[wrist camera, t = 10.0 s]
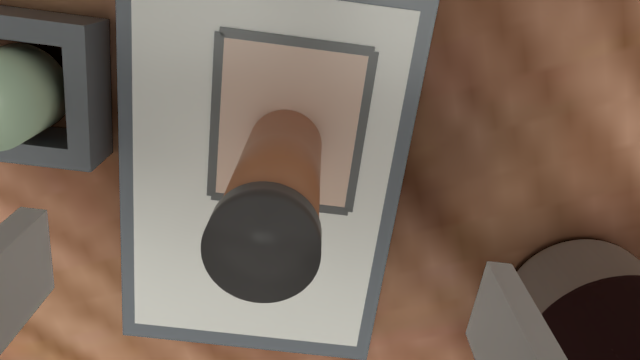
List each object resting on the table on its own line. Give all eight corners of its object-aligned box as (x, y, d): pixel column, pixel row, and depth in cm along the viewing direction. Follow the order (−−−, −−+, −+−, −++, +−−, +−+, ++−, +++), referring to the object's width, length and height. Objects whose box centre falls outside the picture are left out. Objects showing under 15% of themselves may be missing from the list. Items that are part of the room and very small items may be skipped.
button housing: (-37, 0, 22) (-79, 4, 20) (109, 19, 22) (84, 25, 20) (-19, 136, 24) (-56, 155, 22) (112, 152, 24) (90, 172, 22)
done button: (-23, 37, 21) (-75, 49, 18) (68, 48, 21) (30, 62, 19) (-12, 122, 23) (-59, 145, 20) (72, 133, 23) (38, 156, 20)
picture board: (119, -57, 21) (111, -58, 20) (438, -14, 22) (443, -13, 21) (126, 327, 28) (120, 338, 27) (365, 352, 29) (366, 364, 28)
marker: (246, 105, 23) (198, 195, 14) (325, 109, 23) (324, 201, 14) (247, 178, 24) (203, 300, 15) (321, 181, 24) (318, 306, 15)
